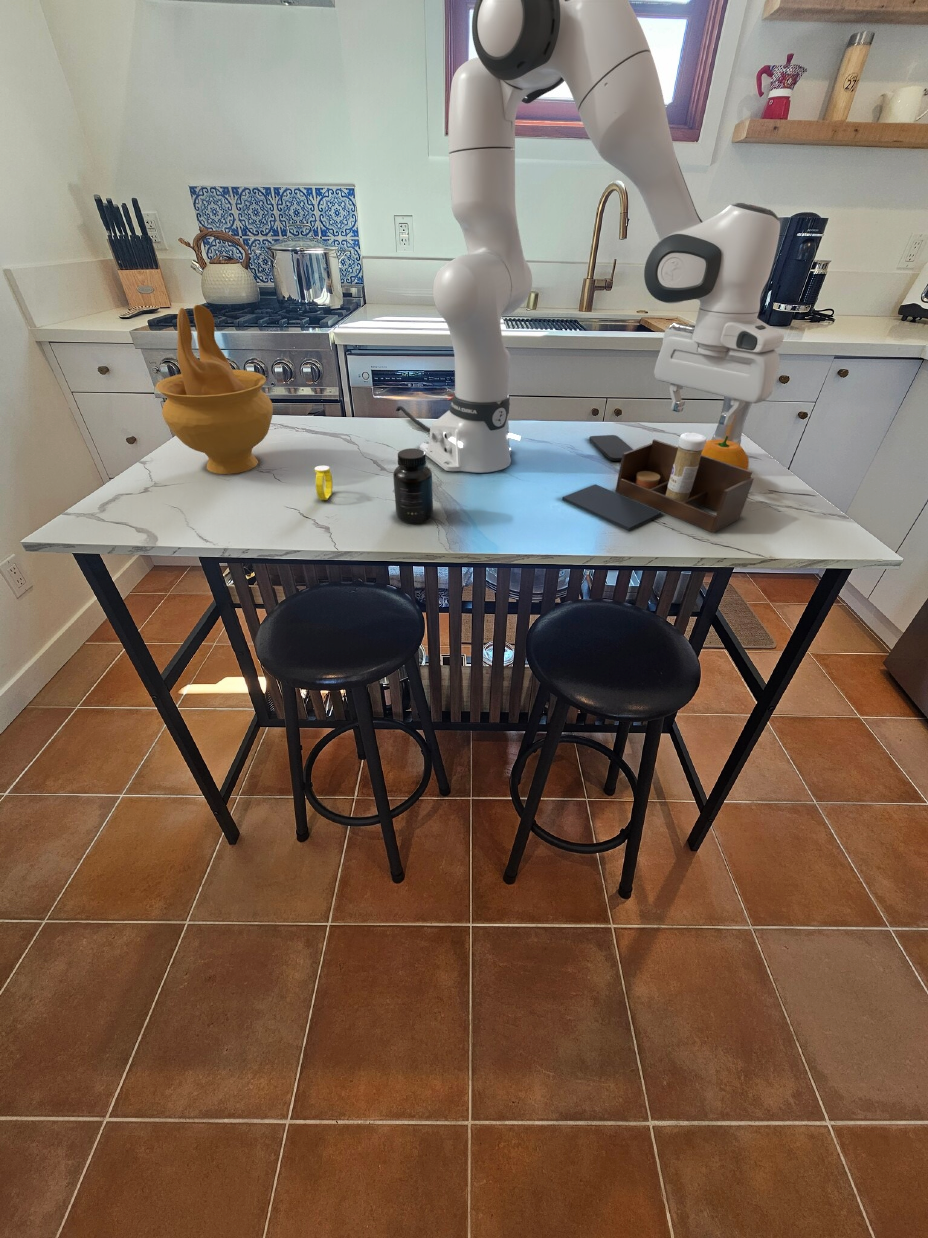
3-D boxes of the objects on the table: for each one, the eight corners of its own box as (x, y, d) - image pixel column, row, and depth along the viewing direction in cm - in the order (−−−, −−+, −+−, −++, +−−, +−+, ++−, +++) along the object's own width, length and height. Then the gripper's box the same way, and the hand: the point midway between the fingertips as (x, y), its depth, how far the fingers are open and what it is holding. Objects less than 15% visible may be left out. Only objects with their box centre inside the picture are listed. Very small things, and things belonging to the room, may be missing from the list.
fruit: (692, 468, 122) (705, 422, 115) (747, 481, 116) (764, 434, 110) (674, 485, 114) (687, 437, 108) (733, 500, 109) (750, 451, 103)
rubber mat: (562, 499, 108) (562, 496, 107) (594, 486, 113) (595, 484, 112) (628, 530, 98) (629, 527, 98) (661, 515, 103) (662, 512, 103)
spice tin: (628, 491, 111) (631, 474, 109) (641, 485, 114) (645, 468, 111) (647, 499, 109) (651, 482, 106) (660, 493, 111) (665, 476, 109)
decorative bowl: (243, 490, 108) (201, 320, 90) (157, 475, 113) (101, 311, 95) (301, 454, 124) (276, 302, 106) (223, 441, 129) (186, 295, 111)
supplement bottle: (398, 507, 104) (394, 444, 96) (434, 508, 104) (433, 446, 96) (393, 524, 98) (389, 459, 91) (431, 525, 98) (430, 461, 91)
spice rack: (615, 491, 111) (623, 448, 106) (642, 480, 116) (651, 438, 110) (713, 533, 98) (729, 485, 92) (739, 518, 103) (756, 472, 97)
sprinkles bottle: (659, 499, 108) (676, 431, 100) (681, 499, 109) (700, 431, 101) (668, 510, 105) (687, 440, 97) (691, 509, 105) (711, 440, 97)
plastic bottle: (742, 457, 127) (773, 365, 115) (724, 463, 124) (754, 369, 112) (718, 449, 131) (745, 358, 119) (700, 454, 128) (726, 362, 116)
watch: (328, 504, 104) (324, 474, 101) (314, 503, 104) (309, 474, 101) (337, 491, 109) (333, 462, 105) (323, 490, 109) (319, 461, 105)
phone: (616, 434, 136) (642, 456, 124) (615, 437, 136) (641, 460, 124) (587, 435, 134) (611, 458, 123) (587, 439, 135) (610, 461, 123)
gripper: (656, 322, 93) (640, 406, 101) (775, 342, 80) (745, 436, 89) (677, 319, 96) (660, 400, 104) (795, 337, 84) (764, 428, 92)
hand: (700, 417), depth 97 cm, fingers open, 8 cm apart
